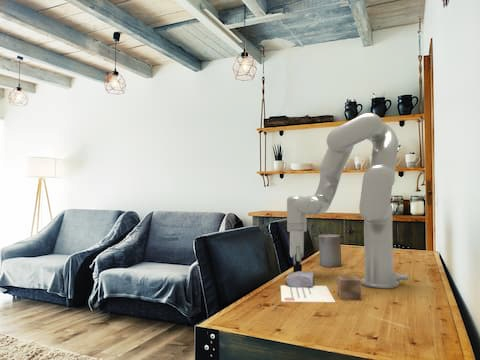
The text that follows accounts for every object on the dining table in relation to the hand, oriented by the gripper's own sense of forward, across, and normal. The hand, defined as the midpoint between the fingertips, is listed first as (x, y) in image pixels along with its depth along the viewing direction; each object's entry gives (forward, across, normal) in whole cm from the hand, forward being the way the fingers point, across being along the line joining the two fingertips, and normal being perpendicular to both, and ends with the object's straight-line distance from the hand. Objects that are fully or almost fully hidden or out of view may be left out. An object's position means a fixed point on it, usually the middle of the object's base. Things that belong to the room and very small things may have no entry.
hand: (297, 274), depth 146 cm
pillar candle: (+1, -25, +16) cm, 30 cm away
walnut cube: (+1, +28, +14) cm, 31 cm away
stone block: (+1, +11, 0) cm, 11 cm away
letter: (+1, +24, +1) cm, 24 cm away
